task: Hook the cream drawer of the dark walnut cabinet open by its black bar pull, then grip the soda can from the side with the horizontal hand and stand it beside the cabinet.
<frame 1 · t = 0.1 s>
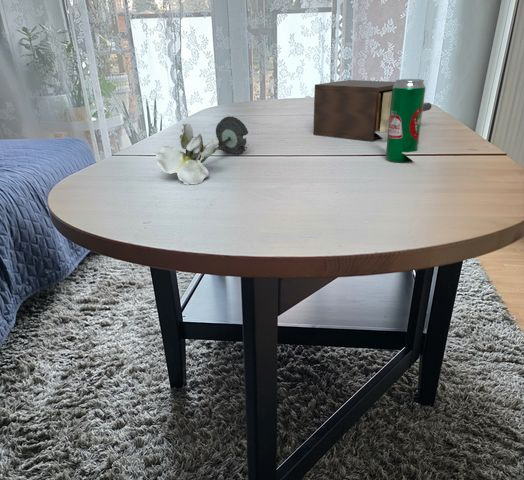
cabinet: (358, 133, 109), on the table
artificial flower: (211, 169, 84), on the table
soda can: (400, 161, 86), on the table
drawer: (381, 110, 103), point 5 cm above the table, slide at 1.0 cm
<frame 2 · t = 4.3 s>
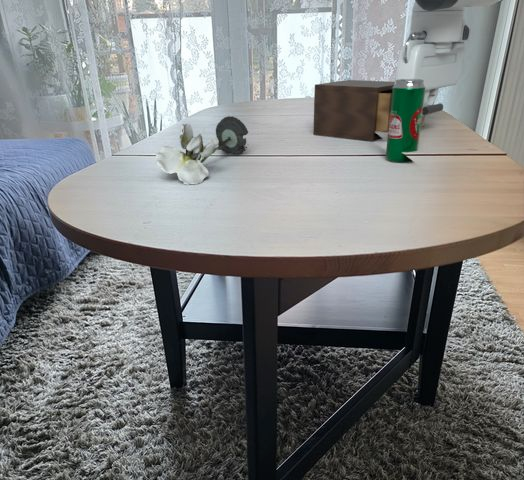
hand: (424, 115, 98), 5 cm above the table, tool pointing down, fingers closed, pressing on drawer
drawer: (392, 111, 102), point 5 cm above the table, slide at 3.5 cm, touching gripper
everything else where it was.
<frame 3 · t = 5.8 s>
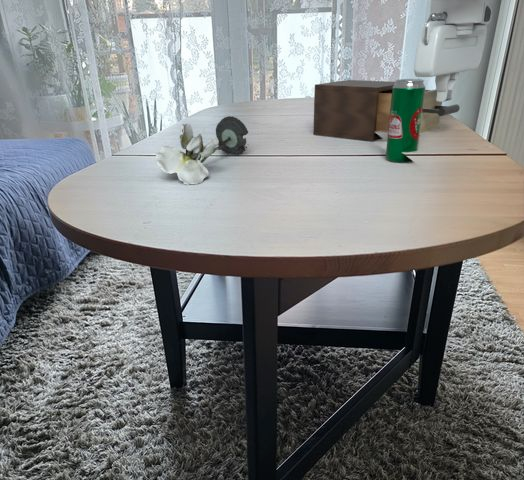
hand: (443, 101, 95), 7 cm above the table, tool pointing down, fingers closed
drawer: (407, 112, 100), point 5 cm above the table, slide at 6.7 cm
everything else where it was.
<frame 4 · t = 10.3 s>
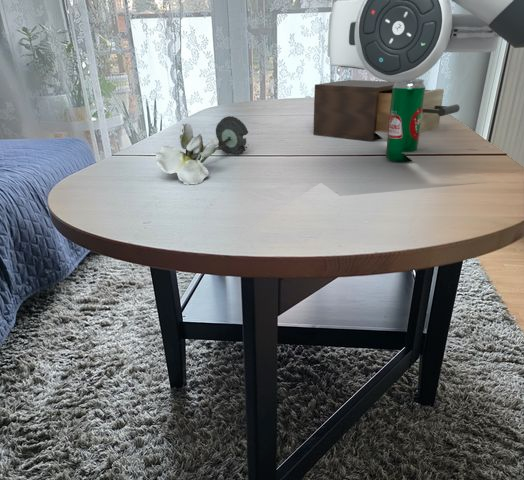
hand: (413, 36, 67), 18 cm above the table, tool horizontal, fingers closed
nothing on the table moved.
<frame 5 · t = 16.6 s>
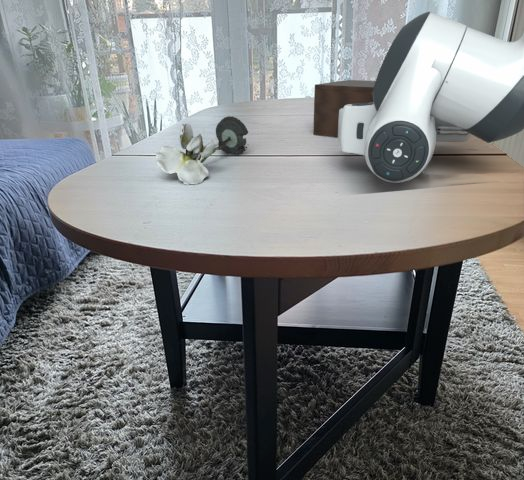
hand: (405, 116, 83), 7 cm above the table, tool horizontal, fingers closed on soda can, 5 cm apart
soda can: (400, 161, 86), on the table, touching gripper
everything else where it was.
when the fingers open (7 cm above the table, at t = 24.7 s): soda can stays where it is, on the table.
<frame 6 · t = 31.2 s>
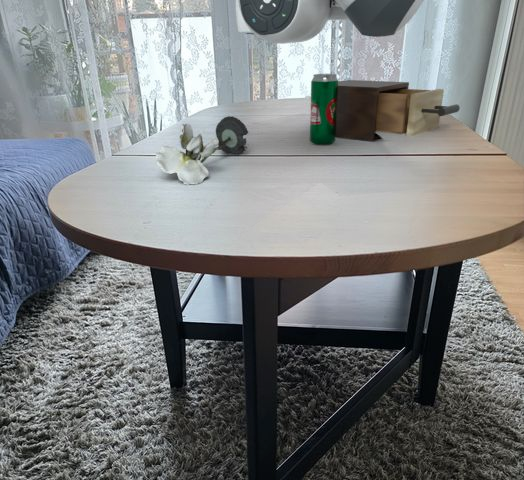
hand: (315, 7, 79), 22 cm above the table, tool horizontal, fingers open, 8 cm apart
soda can: (322, 144, 100), on the table
everything else where it was.
at the end: drawer slide at 6.7 cm; soda can inside the target area on the table beside the cabinet (0.0 cm from its centre), on the table; soda can tilted 0° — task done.
